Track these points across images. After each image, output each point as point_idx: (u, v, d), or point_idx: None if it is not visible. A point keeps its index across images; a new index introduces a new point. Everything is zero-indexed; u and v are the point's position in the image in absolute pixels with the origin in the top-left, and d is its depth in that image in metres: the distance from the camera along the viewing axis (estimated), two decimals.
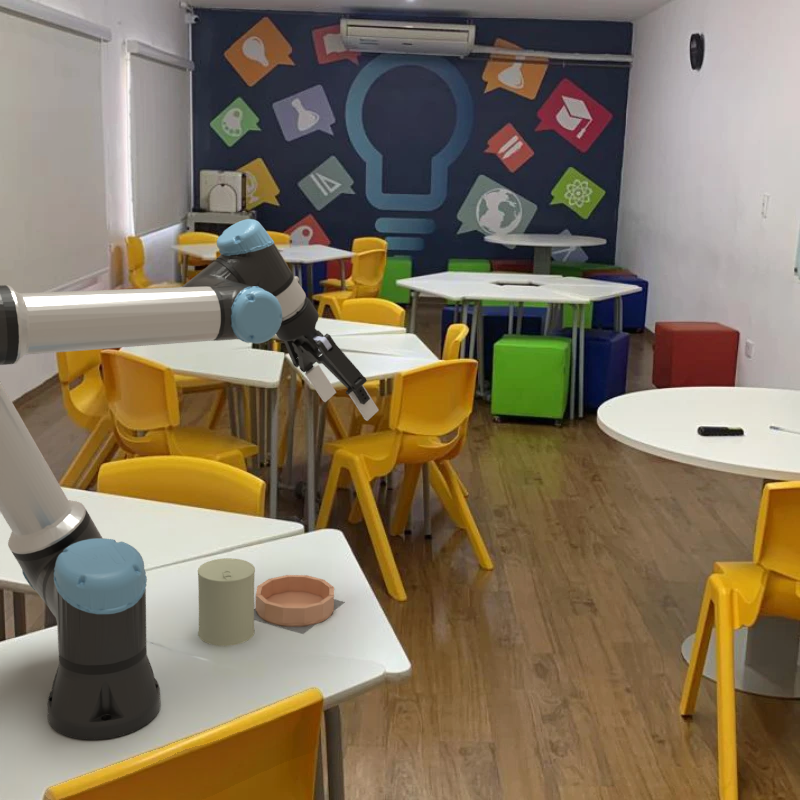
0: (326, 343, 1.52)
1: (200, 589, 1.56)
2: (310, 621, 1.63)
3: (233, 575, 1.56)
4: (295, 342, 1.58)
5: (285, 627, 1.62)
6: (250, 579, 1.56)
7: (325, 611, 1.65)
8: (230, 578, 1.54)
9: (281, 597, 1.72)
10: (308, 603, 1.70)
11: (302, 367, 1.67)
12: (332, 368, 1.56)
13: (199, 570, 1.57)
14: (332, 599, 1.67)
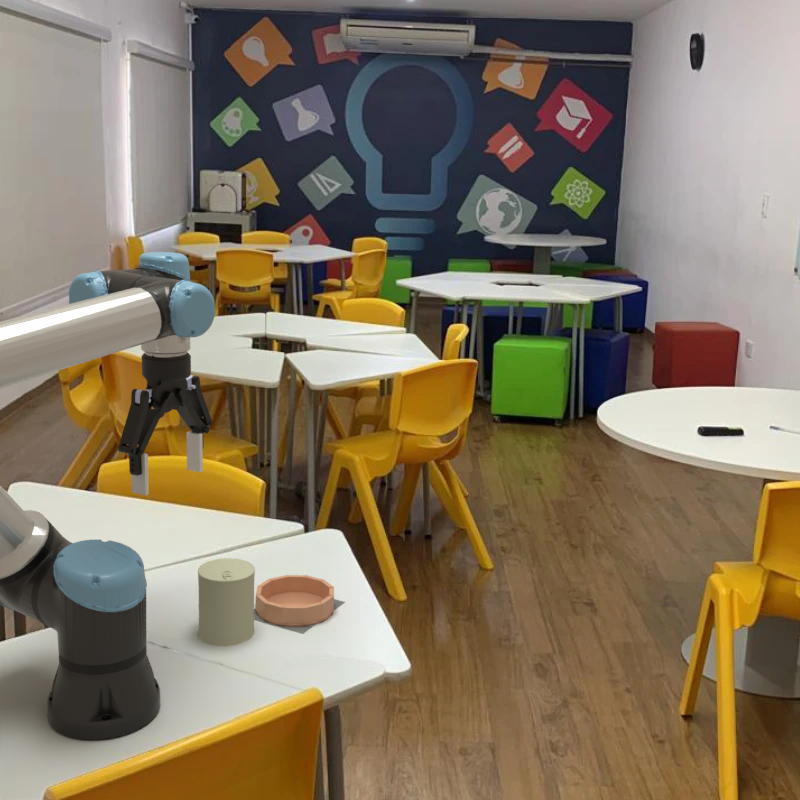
0: (137, 395, 1.48)
1: (200, 589, 1.56)
2: (310, 621, 1.63)
3: (233, 575, 1.56)
4: None
5: (285, 627, 1.62)
6: (250, 579, 1.56)
7: (325, 611, 1.65)
8: (230, 578, 1.54)
9: (281, 597, 1.72)
10: (308, 603, 1.70)
11: None
12: None
13: (199, 570, 1.57)
14: (332, 599, 1.67)
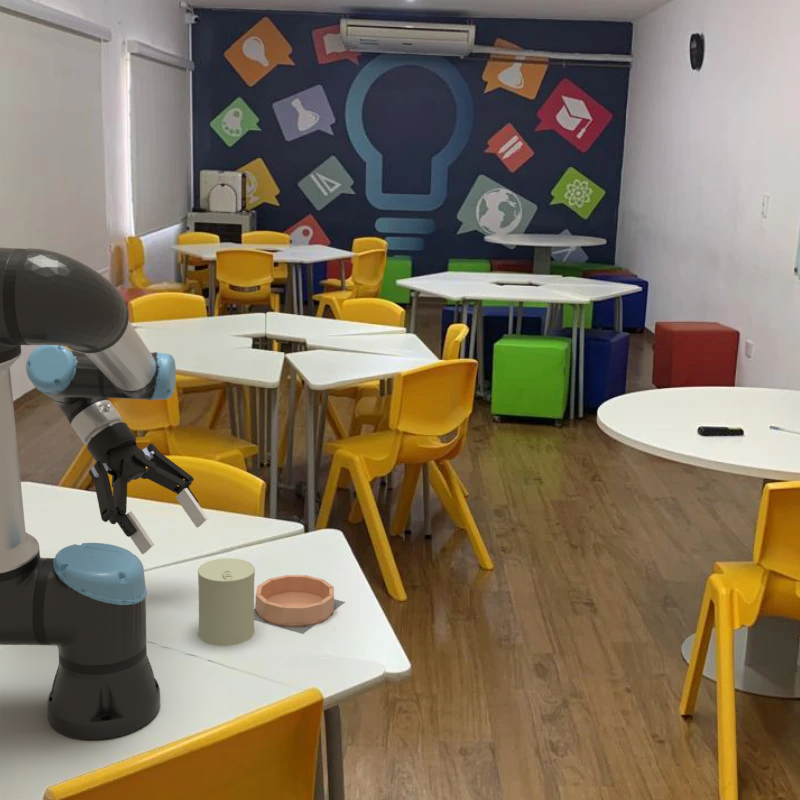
0: (93, 470, 1.57)
1: (200, 589, 1.56)
2: (310, 621, 1.63)
3: (233, 574, 1.56)
4: None
5: (285, 627, 1.62)
6: (250, 579, 1.56)
7: (325, 611, 1.65)
8: (230, 578, 1.54)
9: (281, 597, 1.72)
10: (308, 603, 1.70)
11: None
12: (113, 495, 1.58)
13: (199, 570, 1.57)
14: (332, 599, 1.67)
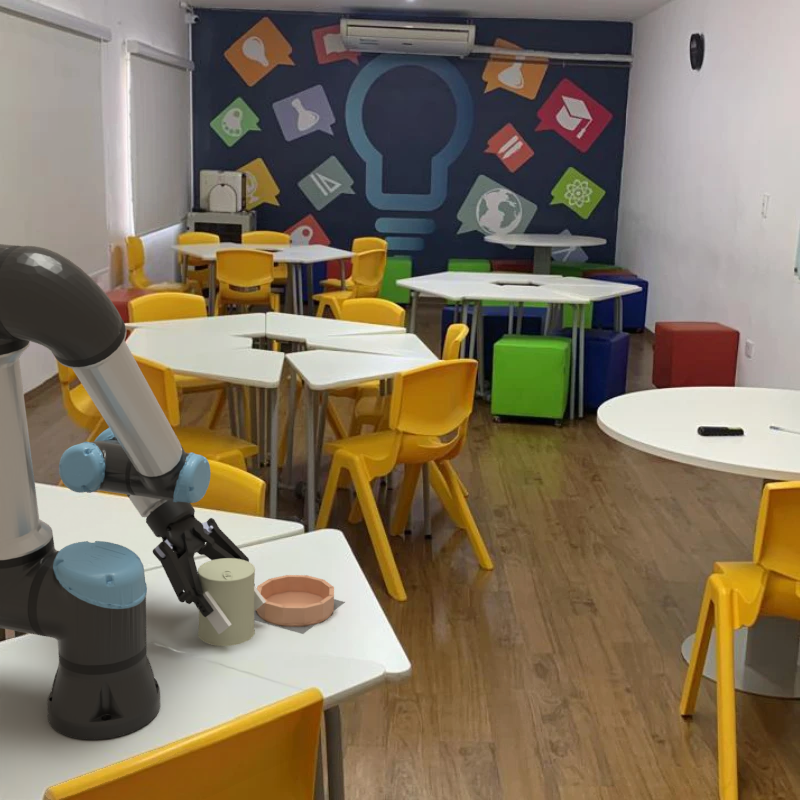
0: (158, 551, 1.54)
1: None
2: (310, 621, 1.63)
3: (233, 574, 1.56)
4: None
5: (285, 627, 1.62)
6: (250, 579, 1.56)
7: (325, 611, 1.65)
8: (230, 578, 1.54)
9: (281, 597, 1.72)
10: (308, 603, 1.70)
11: None
12: None
13: (199, 570, 1.56)
14: (332, 599, 1.67)
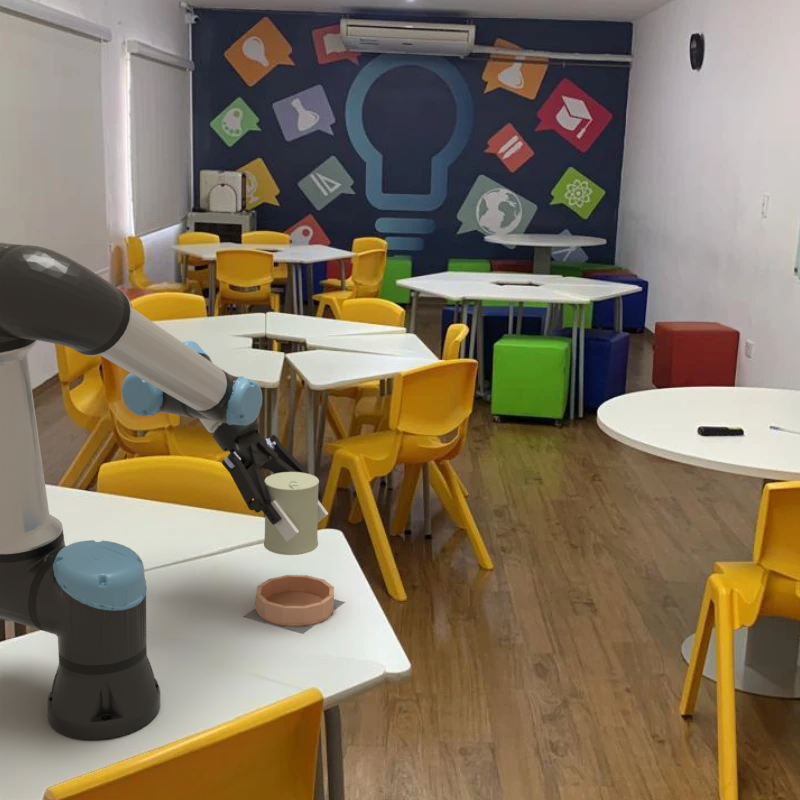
0: (228, 462, 1.60)
1: None
2: (310, 621, 1.63)
3: (299, 485, 1.61)
4: None
5: (285, 627, 1.62)
6: (315, 489, 1.62)
7: (325, 611, 1.65)
8: (297, 487, 1.60)
9: (281, 597, 1.72)
10: (308, 603, 1.70)
11: None
12: None
13: (266, 481, 1.62)
14: (332, 599, 1.67)
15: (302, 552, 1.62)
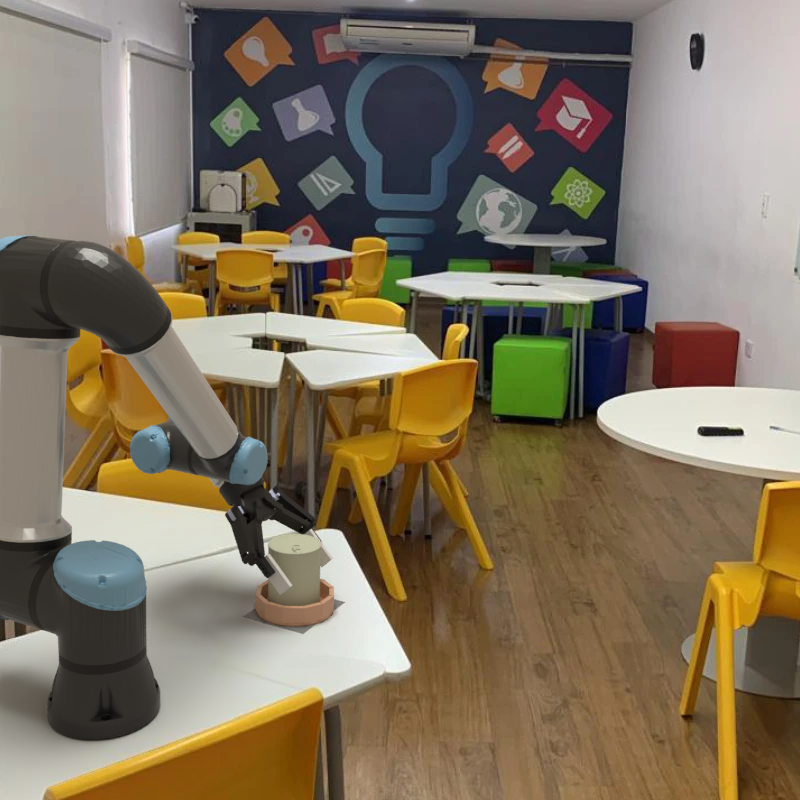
0: (230, 514, 1.63)
1: None
2: (310, 621, 1.63)
3: (302, 548, 1.65)
4: None
5: (285, 627, 1.62)
6: (318, 552, 1.65)
7: (325, 611, 1.65)
8: (300, 551, 1.63)
9: None
10: None
11: None
12: None
13: (269, 544, 1.66)
14: (332, 599, 1.67)
15: None
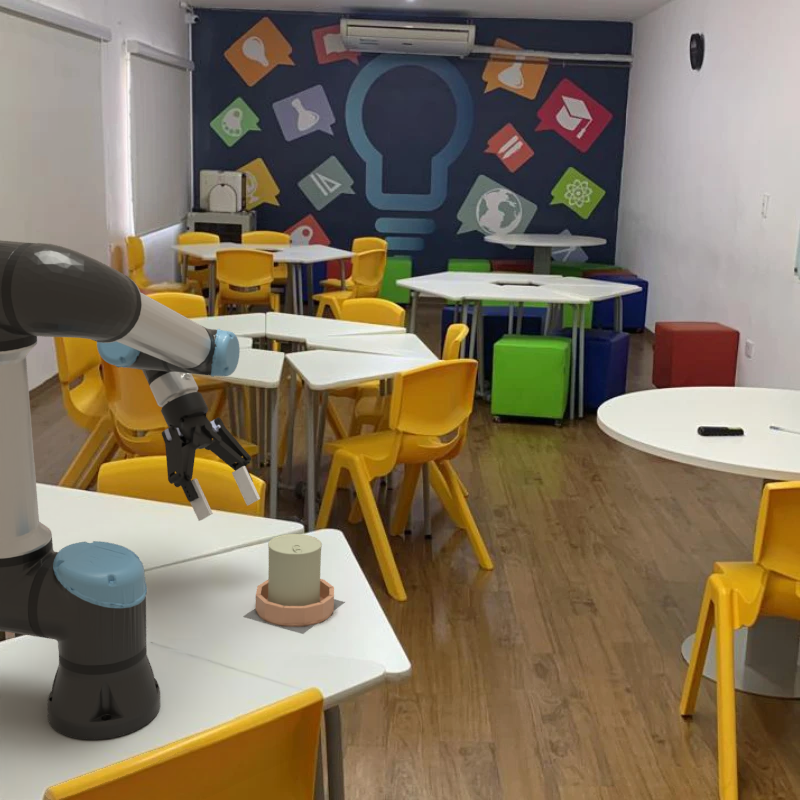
0: (167, 433, 1.64)
1: (271, 562, 1.65)
2: (310, 621, 1.63)
3: (302, 548, 1.65)
4: None
5: (285, 627, 1.62)
6: (318, 552, 1.65)
7: (325, 611, 1.65)
8: (300, 551, 1.63)
9: None
10: None
11: None
12: None
13: (269, 544, 1.65)
14: (332, 599, 1.67)
15: None
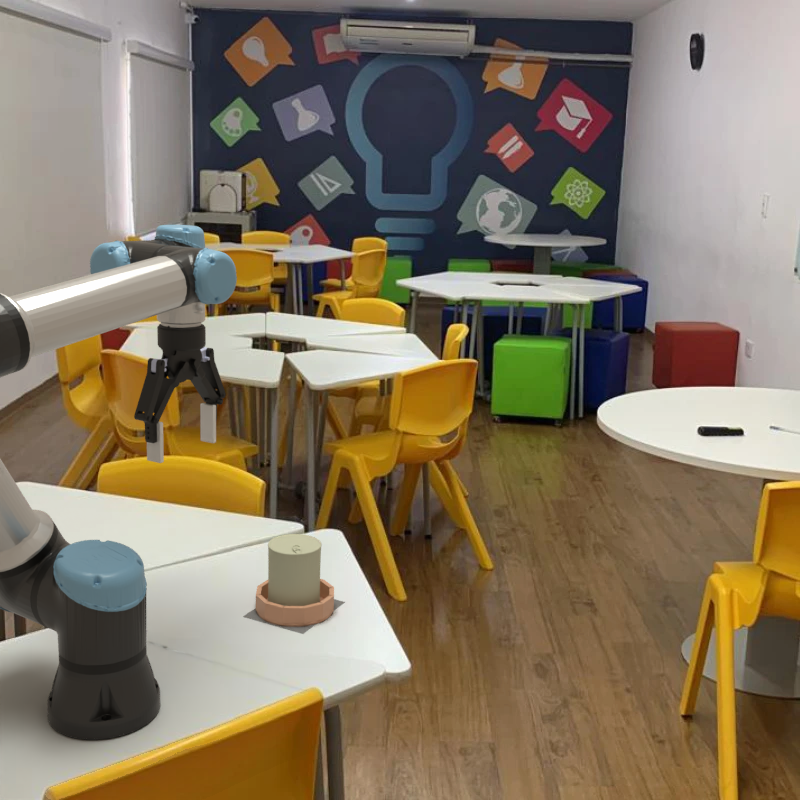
0: (153, 364, 1.51)
1: (271, 562, 1.65)
2: (310, 621, 1.63)
3: (302, 548, 1.64)
4: None
5: (285, 627, 1.62)
6: (318, 553, 1.65)
7: (325, 611, 1.65)
8: (300, 551, 1.63)
9: None
10: None
11: None
12: None
13: (269, 544, 1.65)
14: (332, 599, 1.67)
15: None
